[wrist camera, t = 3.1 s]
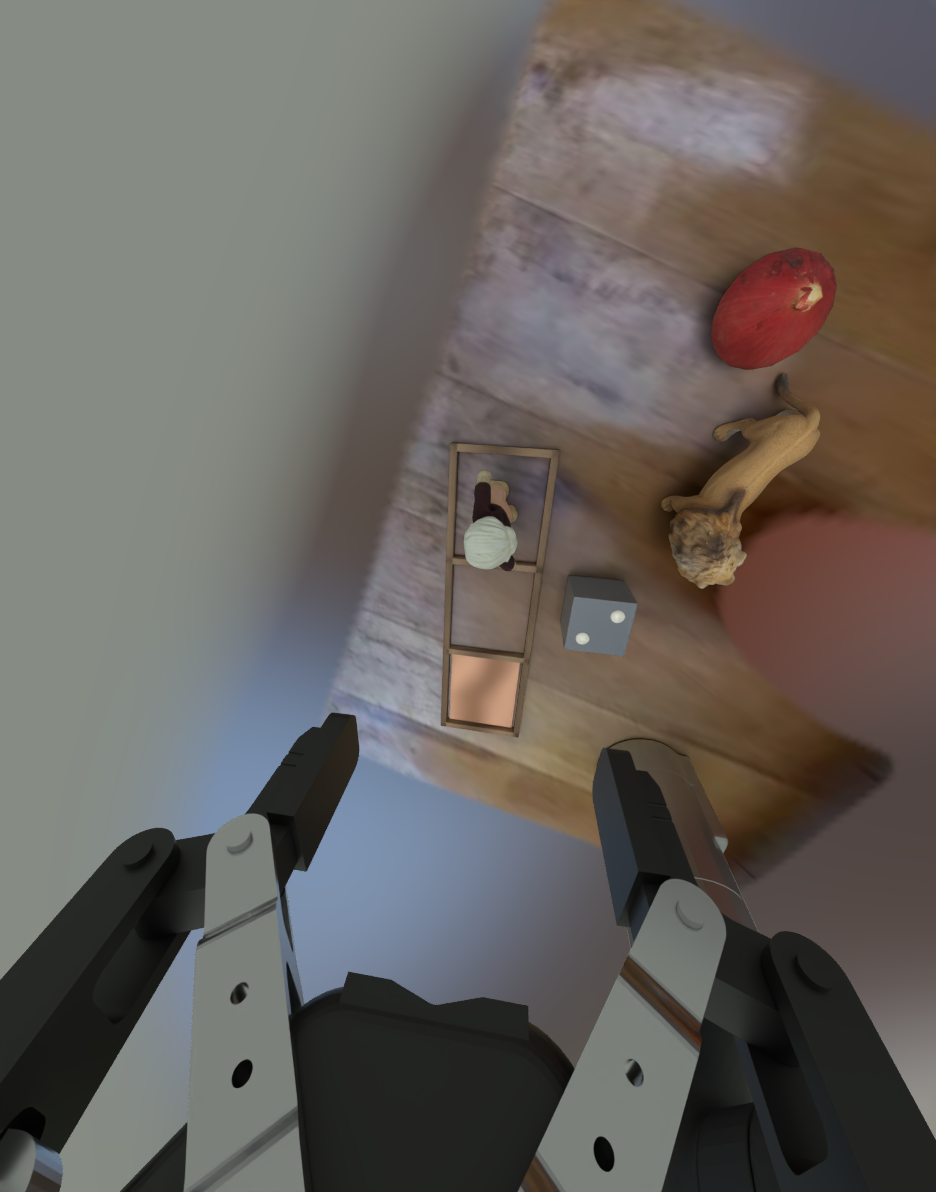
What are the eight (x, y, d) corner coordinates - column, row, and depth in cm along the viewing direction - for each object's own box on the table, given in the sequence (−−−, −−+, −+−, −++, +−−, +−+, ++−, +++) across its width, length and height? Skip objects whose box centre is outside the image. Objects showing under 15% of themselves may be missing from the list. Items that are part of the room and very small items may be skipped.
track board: (559, 450, 31) (559, 450, 31) (518, 732, 44) (518, 737, 43) (452, 442, 32) (450, 443, 32) (442, 720, 45) (440, 725, 44)
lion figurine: (688, 565, 34) (739, 610, 25) (633, 542, 34) (666, 579, 25) (811, 388, 27) (931, 372, 19) (744, 359, 27) (835, 330, 19)
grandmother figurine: (459, 481, 34) (422, 510, 22) (497, 459, 32) (479, 476, 21) (500, 555, 36) (486, 616, 24) (537, 537, 35) (541, 592, 23)
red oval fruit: (695, 287, 26) (759, 233, 19) (792, 264, 25) (899, 198, 18) (690, 382, 28) (745, 367, 21) (779, 366, 27) (870, 344, 20)
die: (623, 580, 35) (638, 604, 30) (612, 628, 37) (624, 657, 32) (568, 575, 36) (574, 597, 31) (560, 622, 38) (564, 650, 33)
